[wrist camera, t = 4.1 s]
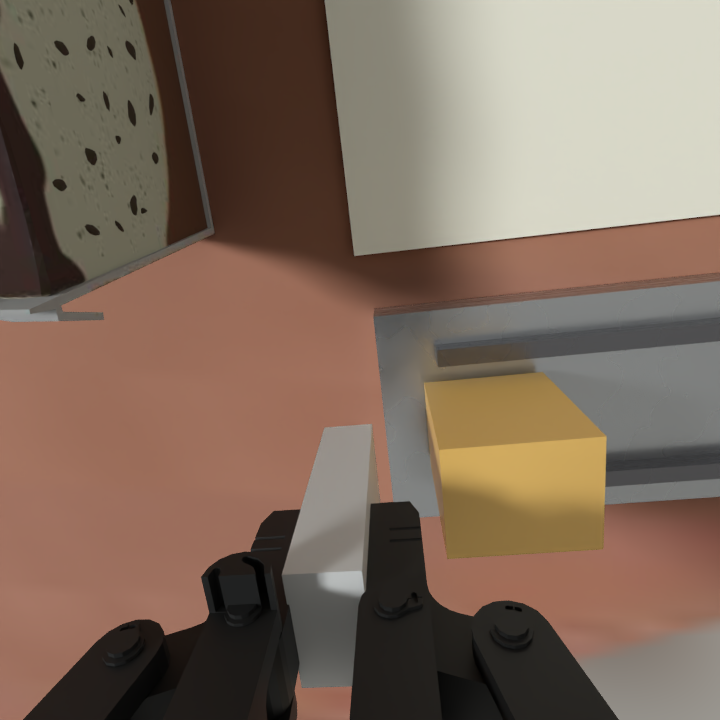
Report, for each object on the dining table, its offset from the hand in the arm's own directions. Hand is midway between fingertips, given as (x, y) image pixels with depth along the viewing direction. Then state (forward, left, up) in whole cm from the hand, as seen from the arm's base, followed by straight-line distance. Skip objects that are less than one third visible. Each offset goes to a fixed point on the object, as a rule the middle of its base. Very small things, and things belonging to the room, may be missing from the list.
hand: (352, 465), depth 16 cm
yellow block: (0, +4, -2) cm, 5 cm away
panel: (0, +8, -4) cm, 9 cm away
